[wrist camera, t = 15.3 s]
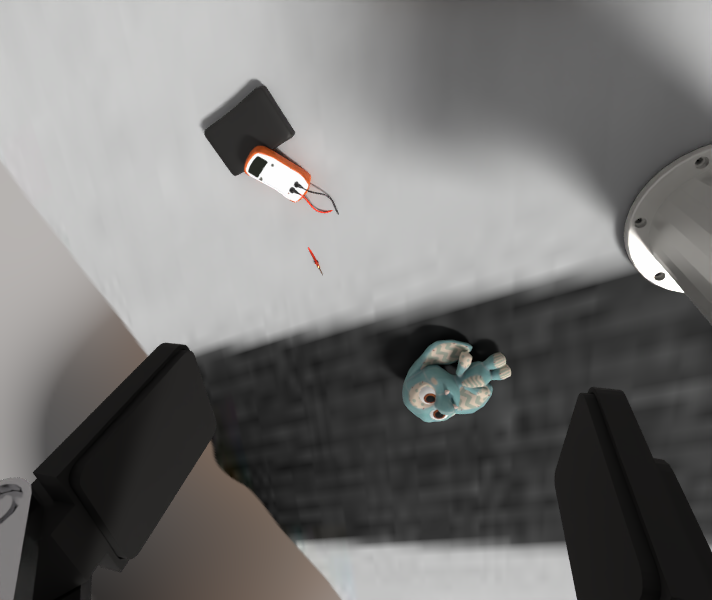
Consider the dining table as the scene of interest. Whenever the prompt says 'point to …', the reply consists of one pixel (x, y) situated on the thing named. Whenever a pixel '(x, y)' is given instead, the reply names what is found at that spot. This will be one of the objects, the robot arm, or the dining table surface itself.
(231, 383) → the dining table surface
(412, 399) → the stuffed animal
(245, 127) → the multimeter
